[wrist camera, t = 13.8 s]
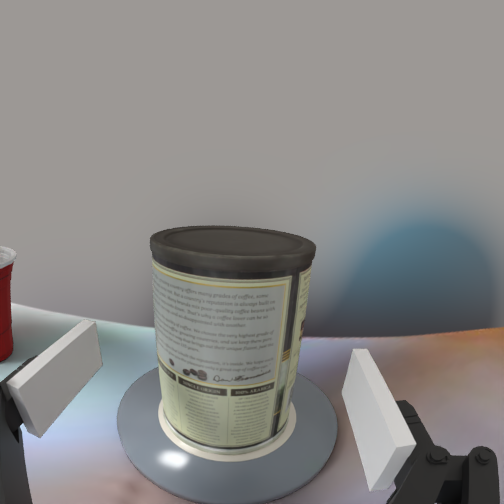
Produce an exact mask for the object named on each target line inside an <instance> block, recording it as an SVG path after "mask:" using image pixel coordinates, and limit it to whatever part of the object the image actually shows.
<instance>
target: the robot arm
mask: <svg viewBox="0 0 504 504" xmlns="http://www.w3.org/2000/svg"><path fill="white" fill-rule="evenodd" d="M102 365H103V363H102V358H101V353H100V347H99V341H98V335H97V328H96V322H95V321H90V320H85V319H84V320H83V321H81V322H80V323H79V324H78V325H76V326H75V327H74V328H72V329H71V330H70V331H69V332H67V333H66V334H65V335H64V336H62V337H61V338H60V339H59V340H57V341H56V342H55V343H54V344H52V345H51V346H50V347H49V348H47V349H46V350H45V351H44V352H42V353H41V354H40V355H39V356H35V357H32V358H30V359H28V360H27V361H26V362H24V363H23V364H22V366H19V367H18V368H17V370H15V371H13V372H12V373H11V374H10V375H9V376H7V377H6V378H5V379H4V380H3V381H1V382H0V504H33V503H32V499H31V494H30V489H29V484H28V478H27V472H26V465H25V458H24V449H23V439H22V431H21V428H20V425H21V424H22V423H24V425H25V427H26V429H27V431H28V432H29V433H31V434H33V435H35V436H37V437H39V438H41V437H42V436H43V434H44V433H45V432H46V431H47V429H48V428H49V427H50V426H51V425H52V423H53V422H54V421H55V420H56V419H57V417H58V416H59V415H60V414H61V413H62V411H63V410H64V409H65V408H66V407H67V406H68V404H69V403H70V402H71V401H72V400H73V399H74V397H75V396H76V395H77V394H78V393H79V392H80V390H81V389H82V388H83V387H84V386H85V385H86V383H87V382H88V381H89V380H90V379H91V378H92V377H93V375H94V374H95V373H96V372H97V371H98V370H99V369H100V367H101V366H102ZM342 396H343V399H344V402H345V406H346V409H347V412H348V416H349V419H350V423H351V426H352V429H353V433H354V436H355V440H356V443H357V447H358V450H359V454H360V457H361V461H362V465H363V468H364V472H365V476H366V480H367V483H368V487H369V491H370V492H373V491H380V490H386V489H389V487H390V486H391V484H392V483H393V481H394V482H395V485H396V490H395V491H394V492H393V494H392V495H391V496H390V498H389V499H388V500H387V503H386V504H434V503H437V504H500V496H499V477H498V465H497V458H496V455H495V453H494V452H493V451H492V450H491V449H489V448H488V447H483V446H479V447H475V448H473V449H472V450H471V452H470V453H469V454H468V456H452V455H450V453H449V452H448V451H447V450H446V449H444V448H442V447H440V446H435V445H434V444H433V442H432V440H431V438H430V436H429V434H428V432H427V431H426V429H425V427H424V425H423V423H421V420H420V418H419V417H418V414H417V413H416V411H415V409H414V407H413V406H412V405H410V404H409V403H408V402H407V401H406V400H402V401H395V400H394V398H393V396H392V394H391V392H390V390H389V388H388V386H387V384H386V383H385V381H384V379H383V377H382V375H381V373H380V371H379V369H378V368H377V366H376V364H375V362H374V360H373V358H372V357H371V355H370V353H369V351H368V349H353V350H352V355H351V359H350V363H349V367H348V371H347V375H346V378H345V382H344V386H343V389H342Z"/></svg>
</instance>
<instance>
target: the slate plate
mask: <svg viewBox="0 0 504 504" xmlns="http://www.w3.org/2000/svg"><path fill="white" fill-rule="evenodd" d="M117 428H118V432H119V436H120V439H121V443H122V446H123V448H124V450H125V452H126V454H127V456H128V458H129V459H130V461H131V462H132V464H133V465H134V466H135V468H136V469H137V470H138V471H139V472H140V473H141V474H142V475H143V476H144V477H145V478H147V479H148V480H149V481H151V482H152V483H153V484H155V485H156V486H158V487H159V488H161V489H163V490H165V491H166V492H168V493H170V494H172V495H174V496H177V497H180V498H182V499H185V500H188V501H191V502H195V503H199V504H264V503H267V502H271V501H274V500H277V499H280V498H282V497H285V496H287V495H289V494H291V493H293V492H295V491H297V490H298V489H300V488H301V487H303V486H304V485H306V484H307V483H309V482H310V481H311V480H312V479H313V478H314V477H315V476H316V475H317V474H318V473H319V472H320V471H321V469H322V468H323V467H324V466H325V464H326V463H327V461H328V459H329V457H330V455H331V453H332V450H333V447H334V444H335V441H336V437H337V428H338V425H337V418H336V414H335V411H334V408H333V406H332V404H331V403H330V401H329V399H328V398H327V397H326V395H325V394H324V393H323V392H322V391H321V390H320V389H319V388H318V387H317V386H316V385H315V384H314V383H312V382H311V381H310V380H308V379H307V378H305V377H304V376H302V375H300V374H299V373H297V372H296V377H295V383H294V389H293V394H292V399H291V405H290V411H289V421H288V424H287V427H286V429H285V431H284V432H283V433H282V434H281V436H280V437H279V438H278V439H277V440H275V441H274V442H273V443H271V444H270V445H268V446H266V447H264V448H261V449H259V450H256V451H253V452H249V453H246V454H236V455H219V454H212V453H207V452H204V451H201V450H198V449H196V448H193V447H191V446H189V445H187V444H185V443H184V442H182V441H181V440H180V439H178V438H177V437H176V436H175V435H174V434H173V433H172V432H171V431H170V429H169V428H168V426H167V424H166V422H165V419H164V416H163V400H162V393H161V385H160V376H159V367H157V368H155V369H153V370H151V371H149V372H148V373H146V374H144V375H143V376H142V377H140V378H139V379H138V380H136V381H135V382H134V383H133V384H132V385H131V386H130V387H129V389H128V390H127V391H126V392H125V394H124V396H123V398H122V400H121V402H120V405H119V408H118V413H117Z"/></svg>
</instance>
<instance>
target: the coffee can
mask: <svg viewBox="0 0 504 504" xmlns="http://www.w3.org/2000/svg"><path fill="white" fill-rule="evenodd" d="M150 248H151V251H152V261H153V262H152V267H153V299H154V300H153V301H154V319H155V333H156V346H157V356H158V366H159V376H160V385H161V393H162V400H163V416H164V419H165V422H166V424H167V426H168V428H169V429H170V431H171V432H172V433H173V434H174V435H175V436H176V437H177V438H178V439H180V440H181V441H182V442H184V443H185V444H187V445H189V446H191V447H193V448H196V449H198V450H201V451H204V452H207V453H212V454H219V455H236V454H246V453H249V452H253V451H256V450H259V449H261V448H264V447H266V446H268V445H270V444H271V443H273V442H274V441H275V440H277V439H278V438H279V437H280V436H281V434H282V433H283V432H284V431H285V429H286V427H287V424H288V421H289V411H290V405H291V399H292V394H293V389H294V383H295V377H296V371H297V365H298V359H299V352H300V346H301V340H302V333H303V327H304V321H305V313H306V305H307V298H308V290H309V282H310V274H311V265H312V260H313V259H314V256H315V251H316V246H315V244H314V243H313V242H312V241H310V240H308V239H306V238H303V237H301V236H298V235H294V234H290V233H286V232H280V231H275V230H268V229H260V228H249V227H236V226H189V227H179V228H173V229H167V230H163V231H160V232H157V233H155V234H153V235H152V236H151V238H150Z"/></svg>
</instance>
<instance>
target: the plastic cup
mask: <svg viewBox="0 0 504 504" xmlns="http://www.w3.org/2000/svg"><path fill="white" fill-rule="evenodd" d="M16 256H17V254H16V252H15V251H14V250H12V249H10V248H8V247H3V246H0V362H1V361H3V360H5V359H6V358H8V357H9V356H10V355H11V354H12V351H13V337H12V328H11V323H12V320H11V300H10V299H11V298H10V297H11V296H10V280H11V272H12V266H13V262H14V260H15V259H16Z"/></svg>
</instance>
